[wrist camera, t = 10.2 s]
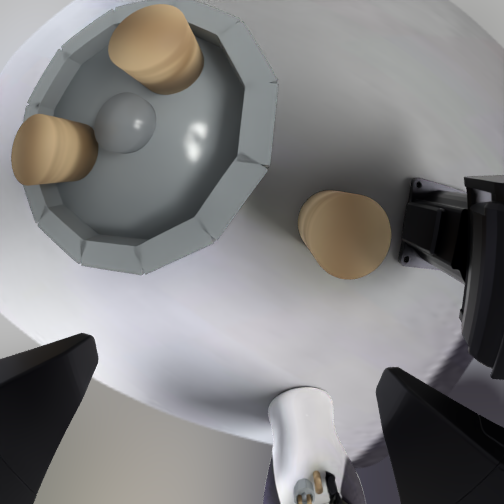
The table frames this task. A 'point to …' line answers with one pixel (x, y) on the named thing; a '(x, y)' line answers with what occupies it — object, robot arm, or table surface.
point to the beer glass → (308, 453)
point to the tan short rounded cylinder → (53, 150)
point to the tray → (156, 145)
